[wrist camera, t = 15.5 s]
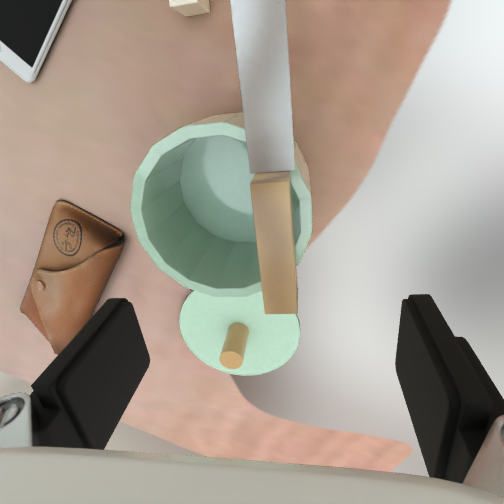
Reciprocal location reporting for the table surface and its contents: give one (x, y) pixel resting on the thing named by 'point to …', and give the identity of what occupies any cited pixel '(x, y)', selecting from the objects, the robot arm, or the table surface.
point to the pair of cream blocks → (190, 6)
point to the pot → (209, 207)
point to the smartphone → (28, 33)
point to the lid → (238, 333)
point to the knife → (269, 143)
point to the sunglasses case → (70, 272)
